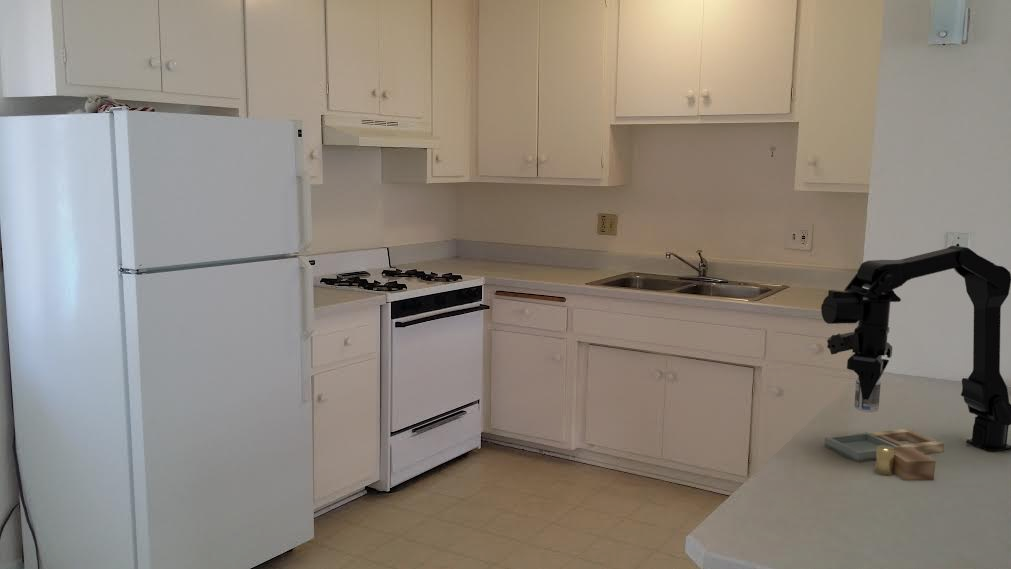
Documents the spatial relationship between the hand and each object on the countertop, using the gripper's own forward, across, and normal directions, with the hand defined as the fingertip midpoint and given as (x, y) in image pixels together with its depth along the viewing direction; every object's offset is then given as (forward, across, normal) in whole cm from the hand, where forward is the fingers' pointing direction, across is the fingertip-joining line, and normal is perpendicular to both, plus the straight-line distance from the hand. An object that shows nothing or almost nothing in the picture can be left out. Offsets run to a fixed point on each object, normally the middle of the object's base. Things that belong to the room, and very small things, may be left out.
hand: (867, 396), depth 177 cm
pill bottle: (+3, 0, 0) cm, 3 cm away
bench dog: (+12, +11, +5) cm, 17 cm away
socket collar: (+12, -9, +7) cm, 17 cm away
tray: (+12, 0, 0) cm, 12 cm away
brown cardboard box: (+12, +8, +9) cm, 17 cm away
